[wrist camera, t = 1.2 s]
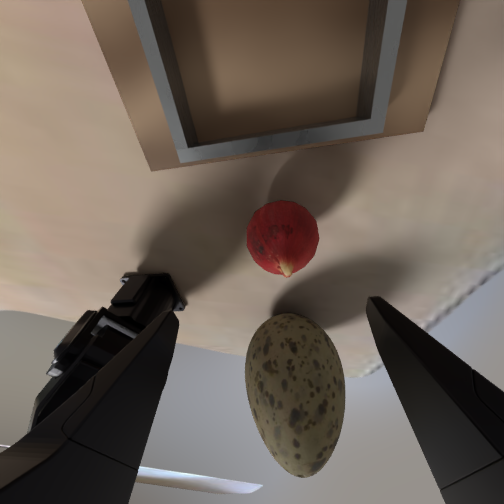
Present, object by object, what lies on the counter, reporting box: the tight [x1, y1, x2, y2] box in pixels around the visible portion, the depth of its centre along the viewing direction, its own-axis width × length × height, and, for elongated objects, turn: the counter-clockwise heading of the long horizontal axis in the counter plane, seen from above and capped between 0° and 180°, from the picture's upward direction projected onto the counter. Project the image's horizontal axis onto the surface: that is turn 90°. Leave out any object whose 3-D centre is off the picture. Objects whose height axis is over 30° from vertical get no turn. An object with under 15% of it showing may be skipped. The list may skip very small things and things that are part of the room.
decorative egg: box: [245, 313, 345, 478], centre depth 23 cm, size 11×11×15 cm
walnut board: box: [81, 0, 460, 171], centre depth 12 cm, size 14×20×2 cm
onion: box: [247, 200, 319, 278], centre depth 17 cm, size 6×6×8 cm
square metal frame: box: [128, 0, 407, 163], centre depth 11 cm, size 13×13×2 cm
